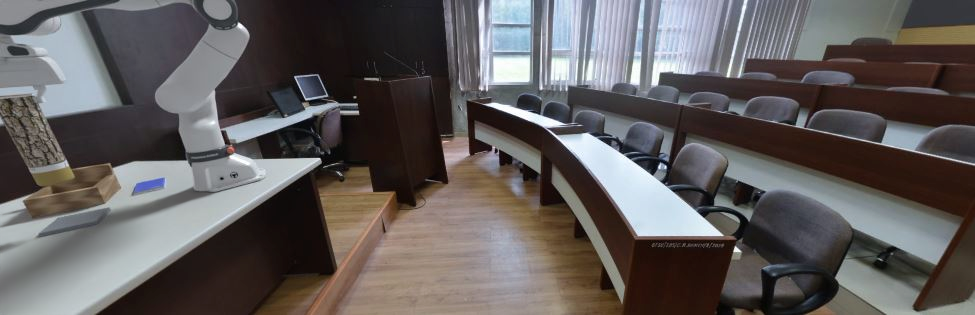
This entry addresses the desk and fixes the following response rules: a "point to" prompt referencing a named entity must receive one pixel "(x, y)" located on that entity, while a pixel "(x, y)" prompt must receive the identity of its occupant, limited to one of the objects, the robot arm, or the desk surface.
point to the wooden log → (34, 139)
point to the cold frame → (75, 191)
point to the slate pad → (75, 221)
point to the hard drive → (149, 186)
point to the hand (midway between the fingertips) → (17, 105)
